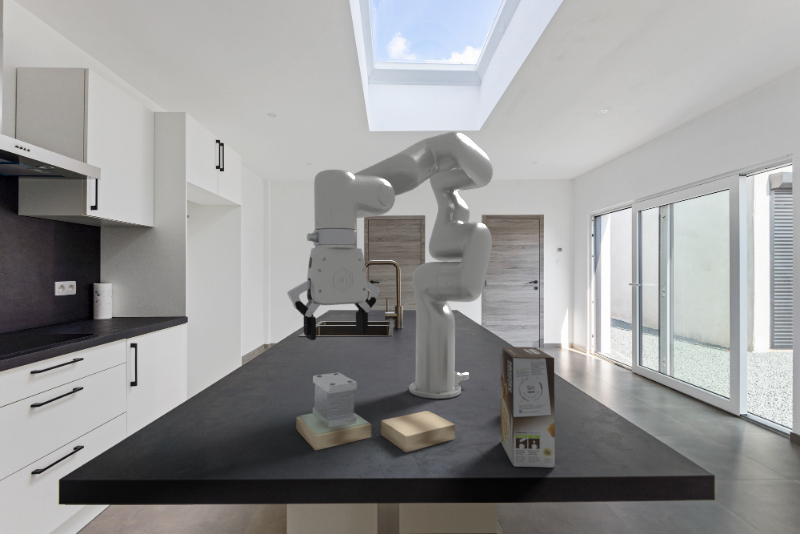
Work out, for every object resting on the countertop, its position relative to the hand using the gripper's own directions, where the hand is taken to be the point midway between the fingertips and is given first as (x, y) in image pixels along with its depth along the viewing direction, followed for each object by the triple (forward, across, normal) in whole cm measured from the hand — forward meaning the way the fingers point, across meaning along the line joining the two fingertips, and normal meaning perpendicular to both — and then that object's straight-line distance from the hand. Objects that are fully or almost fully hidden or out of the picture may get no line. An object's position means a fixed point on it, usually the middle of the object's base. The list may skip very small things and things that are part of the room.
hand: (337, 336), depth 69 cm
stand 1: (+17, -1, 0) cm, 17 cm away
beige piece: (+17, +11, -9) cm, 22 cm away
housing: (+14, -1, 0) cm, 15 cm away
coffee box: (+18, +22, -23) cm, 37 cm away
